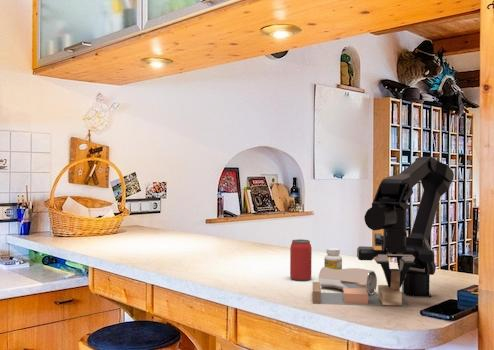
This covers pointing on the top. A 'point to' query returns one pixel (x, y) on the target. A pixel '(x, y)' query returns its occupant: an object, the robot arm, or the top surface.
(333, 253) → the supplement bottle
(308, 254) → the beer can
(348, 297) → the tile
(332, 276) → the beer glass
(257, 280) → the top surface
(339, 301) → the slate board
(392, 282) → the two-tone stepped block
